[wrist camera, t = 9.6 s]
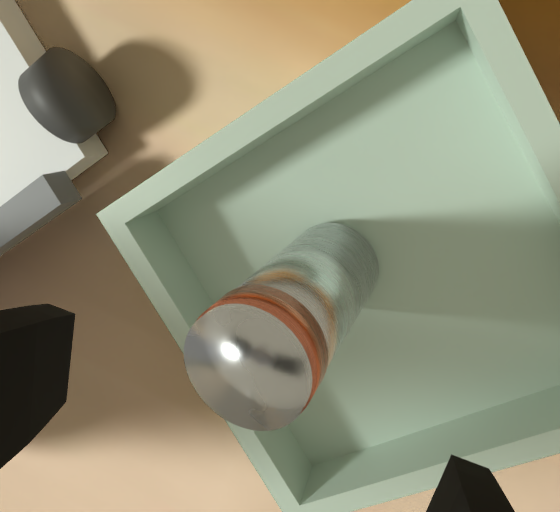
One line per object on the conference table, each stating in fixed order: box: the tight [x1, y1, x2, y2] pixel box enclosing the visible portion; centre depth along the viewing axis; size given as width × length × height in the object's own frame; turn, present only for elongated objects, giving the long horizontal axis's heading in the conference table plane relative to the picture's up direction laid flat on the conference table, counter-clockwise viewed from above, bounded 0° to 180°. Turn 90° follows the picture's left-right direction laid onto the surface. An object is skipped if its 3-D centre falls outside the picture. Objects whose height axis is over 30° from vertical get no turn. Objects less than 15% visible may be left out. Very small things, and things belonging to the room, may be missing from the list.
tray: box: [96, 0, 560, 512], centre depth 17 cm, size 14×14×3 cm
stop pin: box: [184, 223, 379, 431], centre depth 15 cm, size 3×3×7 cm
